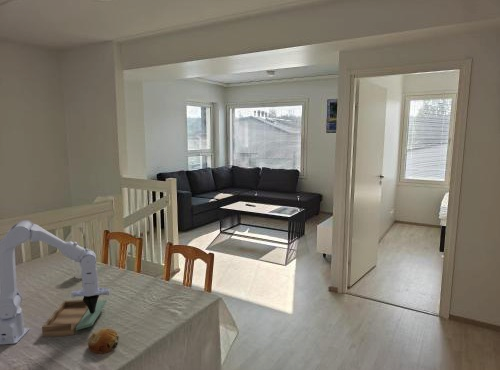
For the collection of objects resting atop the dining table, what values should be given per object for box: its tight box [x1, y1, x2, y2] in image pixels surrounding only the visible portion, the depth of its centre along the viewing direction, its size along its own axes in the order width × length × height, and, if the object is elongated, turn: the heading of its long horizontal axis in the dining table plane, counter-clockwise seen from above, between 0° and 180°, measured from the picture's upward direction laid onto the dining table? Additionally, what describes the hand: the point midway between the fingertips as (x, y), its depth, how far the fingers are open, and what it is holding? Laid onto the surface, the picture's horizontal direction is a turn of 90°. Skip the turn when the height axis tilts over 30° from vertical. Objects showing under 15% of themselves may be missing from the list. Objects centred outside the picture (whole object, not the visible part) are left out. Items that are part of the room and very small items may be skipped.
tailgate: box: [76, 299, 107, 331], centre depth 141 cm, size 19×2×6 cm
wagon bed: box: [41, 299, 88, 338], centre depth 140 cm, size 20×11×4 cm, turn 6°
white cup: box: [71, 259, 82, 280], centre depth 183 cm, size 8×8×10 cm
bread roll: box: [87, 327, 120, 355], centre depth 125 cm, size 10×10×8 cm
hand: (92, 312), depth 141 cm, fingers closed
